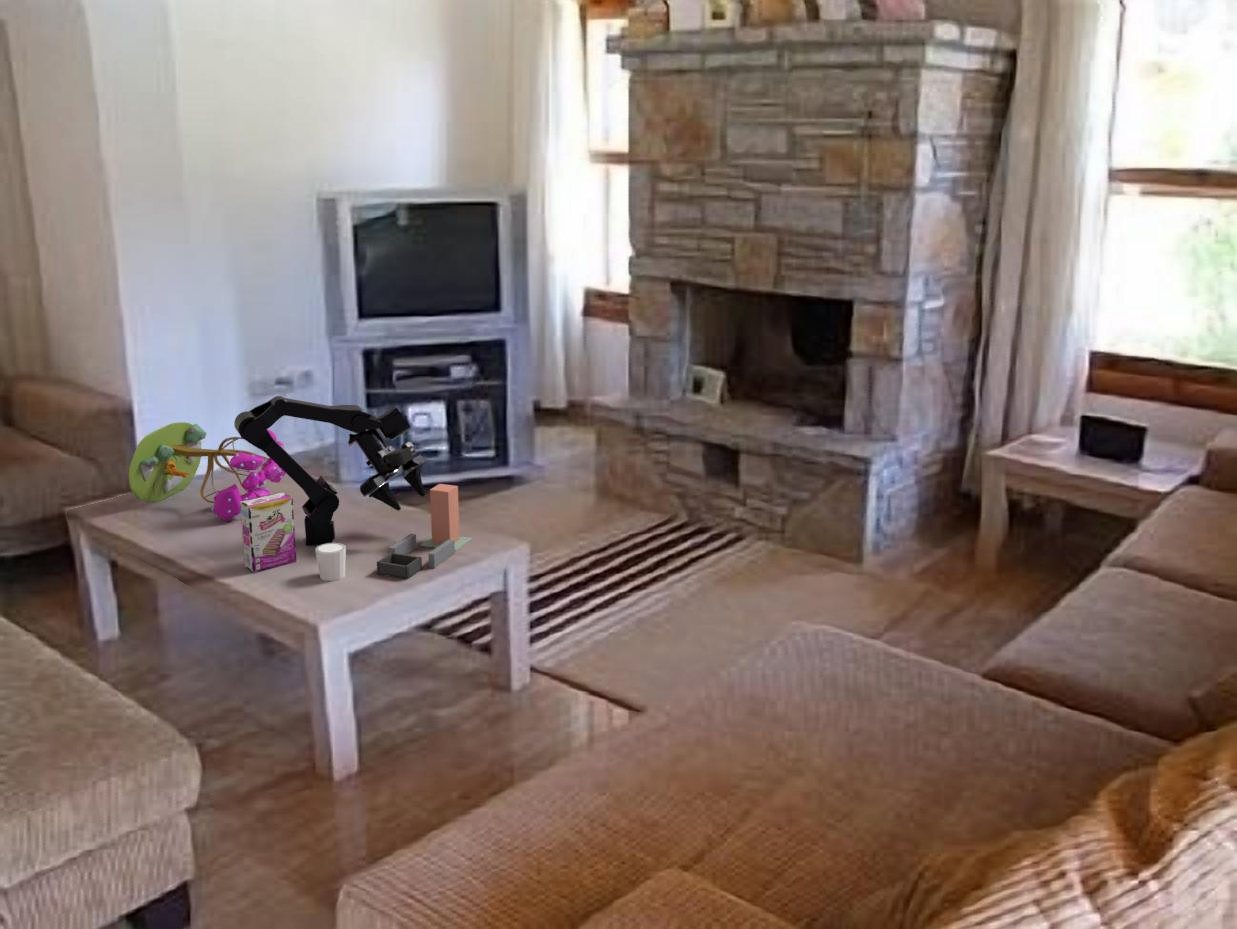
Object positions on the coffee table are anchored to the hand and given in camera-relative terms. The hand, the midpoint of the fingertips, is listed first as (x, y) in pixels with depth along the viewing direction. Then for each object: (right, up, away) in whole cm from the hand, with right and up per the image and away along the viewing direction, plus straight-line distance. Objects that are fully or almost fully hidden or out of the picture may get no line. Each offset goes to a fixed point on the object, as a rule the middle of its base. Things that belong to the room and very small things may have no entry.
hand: (411, 502), depth 286 cm
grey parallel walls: (+5, -13, -9) cm, 16 cm away
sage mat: (+8, -10, +1) cm, 13 cm away
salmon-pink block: (+8, -10, +1) cm, 13 cm away
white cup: (-15, -16, -20) cm, 30 cm away
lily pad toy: (-56, -2, +26) cm, 62 cm away
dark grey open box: (0, -15, -17) cm, 23 cm away
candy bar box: (-31, -14, -13) cm, 36 cm away
